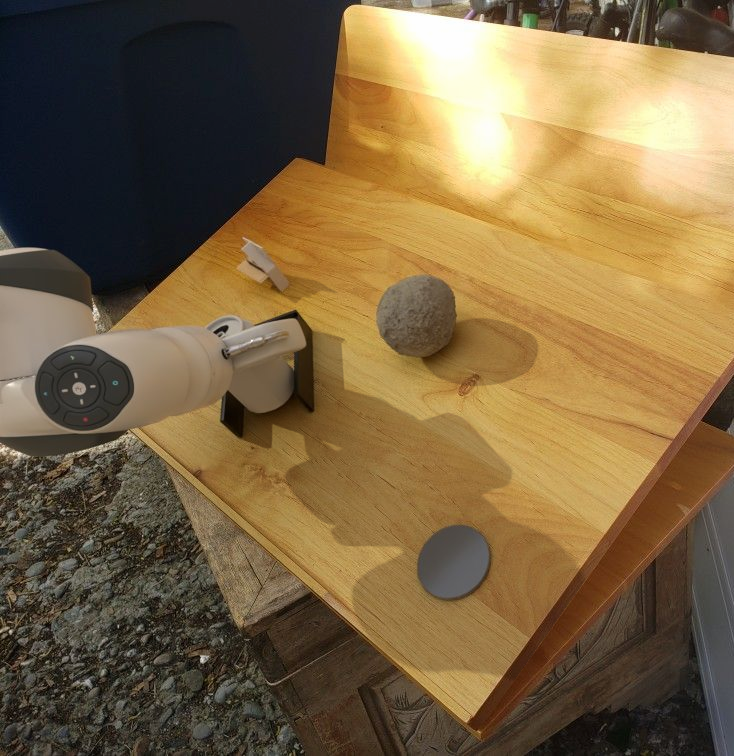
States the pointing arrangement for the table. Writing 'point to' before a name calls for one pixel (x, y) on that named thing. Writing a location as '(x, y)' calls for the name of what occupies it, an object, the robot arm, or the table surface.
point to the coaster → (454, 562)
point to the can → (256, 373)
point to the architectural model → (261, 266)
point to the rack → (302, 380)
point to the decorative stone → (417, 315)
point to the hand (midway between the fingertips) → (244, 357)
